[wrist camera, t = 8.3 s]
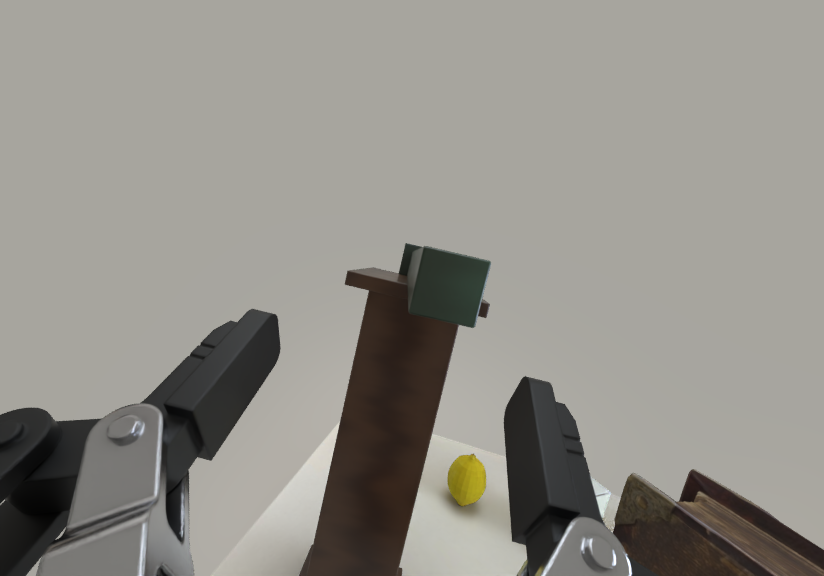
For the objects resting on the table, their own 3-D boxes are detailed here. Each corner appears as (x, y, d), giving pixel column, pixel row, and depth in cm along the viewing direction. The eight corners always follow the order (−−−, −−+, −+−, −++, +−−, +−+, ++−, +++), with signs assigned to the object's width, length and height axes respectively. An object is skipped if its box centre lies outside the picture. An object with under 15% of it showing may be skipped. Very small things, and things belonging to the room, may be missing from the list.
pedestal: (262, 671, 26) (347, 270, 23) (309, 556, 36) (372, 267, 33) (387, 706, 25) (490, 304, 22) (399, 580, 35) (471, 290, 32)
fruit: (473, 492, 52) (485, 445, 51) (483, 521, 47) (497, 468, 46) (439, 487, 51) (451, 439, 51) (446, 515, 46) (459, 462, 45)
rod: (385, 308, 11) (404, 222, 11) (399, 272, 35) (405, 244, 35) (497, 333, 12) (519, 249, 11) (435, 280, 35) (442, 252, 35)
